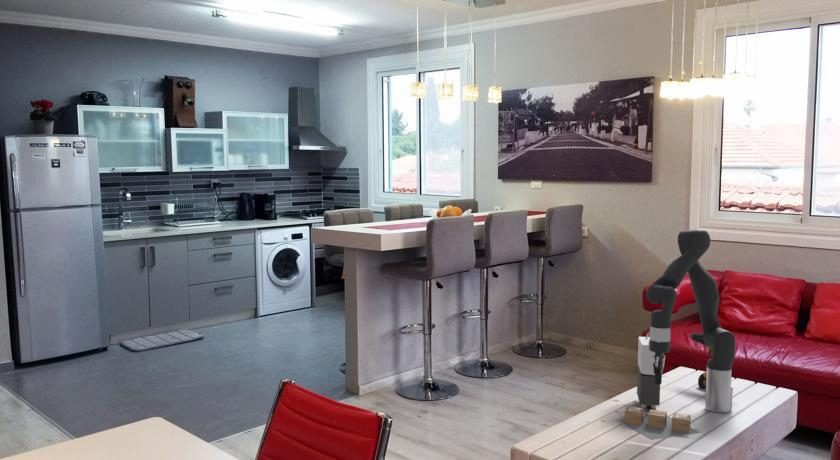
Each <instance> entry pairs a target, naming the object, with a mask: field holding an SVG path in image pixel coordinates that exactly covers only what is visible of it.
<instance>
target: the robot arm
mask: <svg viewBox="0 0 840 460" xmlns="http://www.w3.org/2000/svg"><path fill="white" fill-rule="evenodd" d="M677 245H678V250H679V251H680V255H679V257H677V258H676V259H675V260H673V261H672V262H671V263H670V264H669V265H668V266H667V268H666V269H665V271H664V272H663V274H662V275H661V276H660V277H658V278H657V279H656V280H655V281H654V282H652V284H650V285H649V287H648V289H647V291H646V299H647V301H648V302H649V303H651V304H655V305H662V309H656V310H653V311H651V313H650V328H649V335H648V337H649V350H650V351H652V352H655V355H654V356H653V361H654V363H653V368H654V374H655V384H658V385H660V386H661V385H662V382H663V379H662V378H663V376H662V375H663V373H664V372H663V371H664V368H665V360H666V355H664V354H669V353H670V352H671V342H672V341H671V340H672V338H671V337H672V336H671V335H672V334H671V332H672V331H671V325H672V324H671V318H672V313H673V311H674V306H675V304H676V301H677V296H678V295H677V291H676V289H678V288H679V286H680V285H681V284H682V281H683V280H684V278H685V277H686V275H687V274H688V277H689V281H690V285H691V289H692V293H693V297H694V300H695V303H696V307H697V311H698V314H699V317H700V323H701V329H702V330H701V331H702V333H703V337H704V341H705V343H706V345H707V346H708V347H709V348H711V349H713V350H714V354H713V357H712V358H709V359H707V362H706V371H707V377H706V389H705V406H704V407H705V410H707V411H709V412H712V413H717V414H720V413H721V414H726V413H729V412H730V411H733V390H734V389H733V388H734V387H732V371H733V370H732V368H733V367H732V366H733V364H734V362H735V356H736V344H737V342H736V337H735V335H734V334H733V332H731V331H729V330H727V329H724V328H722V326H721V323H720V319H719V317H718V308H719V304H720V293H719V289H718V285H717V282H716V279H714V277H713V276H712V274H711V273H709V271H708V270H707V269H706V268H705V267H704V266H703V265H702V264H701V263H700V261H699V260H700V259H701V257H703V255H704V254H705V253H706V252H707V251H708V249H709V248H710V246H711V236H710V234H709V232H708V231H707V230H706V229H688V230H687V229H686V230H681V231H680V232H679V233H678V235H677ZM706 345H705V346H706Z"/></svg>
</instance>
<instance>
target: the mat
mask: <svg viewBox="0 0 840 460" xmlns="http://www.w3.org/2000/svg"><path fill="white" fill-rule="evenodd" d="M615 421H617V422H618V423H620V424H622V425H624V426H625V427H627V428H628V429H631V430H633V431H634V432H636V433H638V434H639V435H642V436H643V437H645V438H648V439H649V440H651V441H652V440H659V439H668V438H675V437H681V436H686V435H687V436H688V435H693V434H701V433H702V432H701V431H699V430H697V429H695V428H693V427H691V426H690V431H689V433H683V432H676V431H672V416H669V415H667V425H666V427H665V430H663V429H657V428H650V427H648V414H647V415H644V421H643V423H642V425H641V426H637V425H631V424H625V417H624V418H623V417H622V418H617V419H615Z"/></svg>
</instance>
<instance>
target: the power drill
mask: <svg viewBox="0 0 840 460" xmlns="http://www.w3.org/2000/svg"><path fill="white" fill-rule="evenodd" d="M689 337H690V338H691V340H692V341H693V342H696V343H699V344H701V345H703V346H705V347H706V349H707V350H708V355H709V356H712V358H713V354H714V350H713V349H711V348H709V347H708V346H707V345H706V343H705V341H704V337H703V332H702V333H701V332H694V333H692V334H690V335H689ZM706 377H707V370H706V371H704V372H703V373H701V374H700V375H699V376H698V379H697V384H698V385H697V386H698V388H701V389H705V390H706Z"/></svg>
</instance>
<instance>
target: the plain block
mask: <svg viewBox="0 0 840 460" xmlns="http://www.w3.org/2000/svg"><path fill="white" fill-rule="evenodd" d="M647 415H648V427H650V428H657V429H663V430H665V427H666V425H667V416H668V411H664V410H658V409H650V410H649V412H648V414H647Z"/></svg>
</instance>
